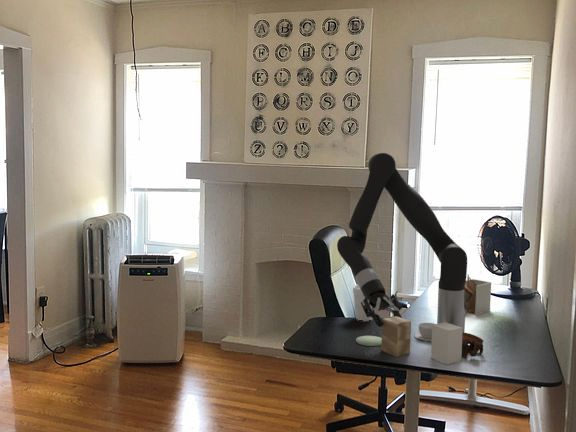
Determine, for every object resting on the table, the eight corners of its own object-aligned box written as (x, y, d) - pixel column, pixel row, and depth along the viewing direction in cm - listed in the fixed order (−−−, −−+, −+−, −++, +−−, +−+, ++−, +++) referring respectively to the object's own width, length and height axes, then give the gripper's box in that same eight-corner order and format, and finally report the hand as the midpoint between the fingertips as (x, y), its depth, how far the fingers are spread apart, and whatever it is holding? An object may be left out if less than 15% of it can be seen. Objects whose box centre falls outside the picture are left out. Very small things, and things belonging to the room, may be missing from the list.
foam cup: (375, 323, 243) (376, 290, 242) (351, 321, 245) (352, 289, 244) (376, 316, 253) (377, 285, 251) (353, 315, 254) (354, 284, 253)
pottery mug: (446, 353, 210) (454, 330, 212) (470, 364, 212) (478, 341, 213) (464, 355, 199) (472, 331, 201) (489, 367, 200) (497, 343, 202)
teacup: (409, 338, 225) (409, 325, 224) (422, 332, 232) (423, 320, 232) (434, 344, 218) (435, 331, 218) (447, 337, 226) (448, 325, 225)
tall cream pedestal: (444, 354, 207) (445, 322, 205) (461, 361, 201) (462, 327, 199) (431, 357, 203) (432, 324, 202) (447, 364, 197) (449, 330, 196)
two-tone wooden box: (457, 311, 264) (458, 273, 262) (471, 307, 271) (473, 269, 270) (475, 315, 258) (477, 276, 256) (489, 311, 265) (491, 273, 263)
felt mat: (372, 335, 227) (372, 334, 227) (390, 343, 218) (390, 341, 218) (350, 340, 221) (350, 338, 221) (368, 347, 213) (368, 346, 213)
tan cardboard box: (395, 347, 214) (396, 316, 212) (410, 353, 208) (411, 321, 206) (381, 350, 210) (382, 318, 209) (396, 356, 204) (397, 323, 203)
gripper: (359, 280, 212) (380, 321, 204) (390, 276, 220) (412, 315, 211) (349, 292, 217) (369, 332, 209) (380, 288, 225) (401, 327, 216)
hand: (391, 324), depth 210 cm, fingers open, 8 cm apart
